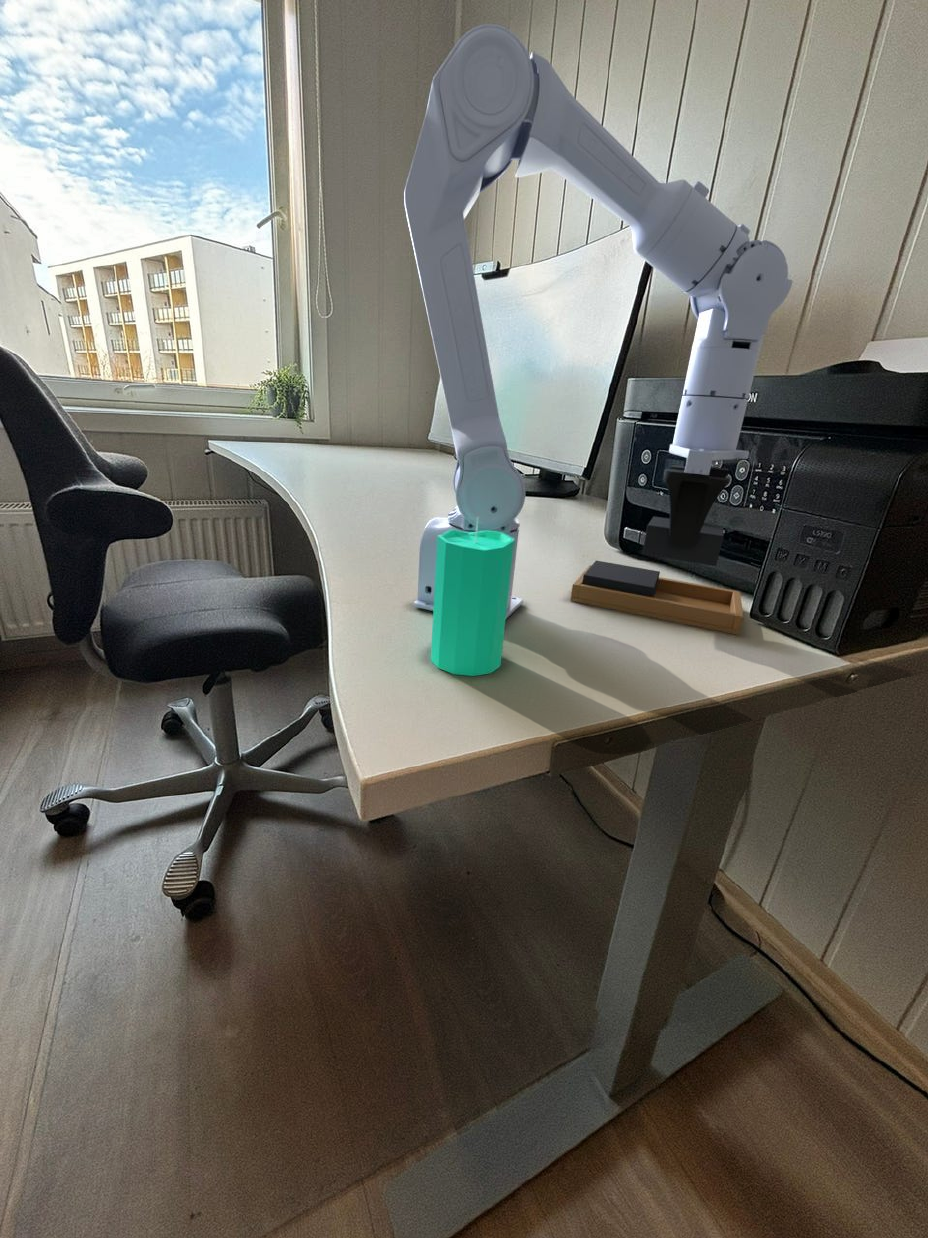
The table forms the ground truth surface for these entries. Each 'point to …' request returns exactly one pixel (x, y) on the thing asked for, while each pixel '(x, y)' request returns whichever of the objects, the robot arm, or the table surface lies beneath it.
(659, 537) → the pad
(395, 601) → the table surface
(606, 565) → the pad
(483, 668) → the candle
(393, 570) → the table surface
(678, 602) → the frame
